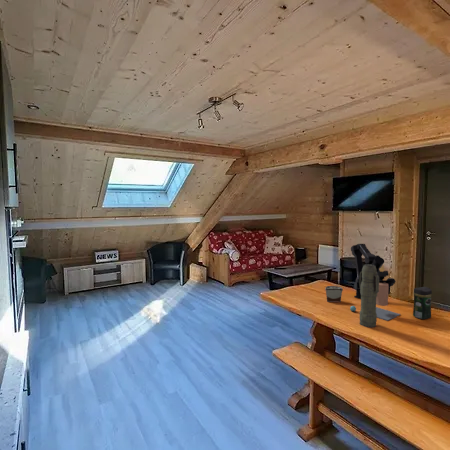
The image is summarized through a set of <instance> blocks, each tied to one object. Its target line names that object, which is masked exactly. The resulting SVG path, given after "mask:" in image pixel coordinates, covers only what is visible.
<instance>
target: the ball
mask: <svg viewBox="0 0 450 450" xmlns="http://www.w3.org/2000/svg"><path fill="white" fill-rule="evenodd" d="M349 307H350V308H349V309H350V311H351V312H356V311H357V307H356V305H351V306H349Z"/></svg>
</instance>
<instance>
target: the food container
mask: <svg viewBox="0 0 450 450" xmlns="http://www.w3.org/2000/svg"><path fill="white" fill-rule="evenodd" d="M324 289H325V290H324V291H325V294H326V302H327V303H341V301H342V295H343V294H342V293H343V292H344V290H343V287H341V286H338V285H327V286H325V288H324Z"/></svg>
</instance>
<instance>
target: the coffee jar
mask: <svg viewBox="0 0 450 450" xmlns="http://www.w3.org/2000/svg"><path fill="white" fill-rule="evenodd" d="M432 291H433V290H432V289H431V288H430V287H428V286H422V287H415V288H413V296H414V299H413V300H414V301H413V309H412V316H413V317H415V318H416V319H419V320H428V319H431V318H432V307H431V306H432V295H433V292H432Z"/></svg>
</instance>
